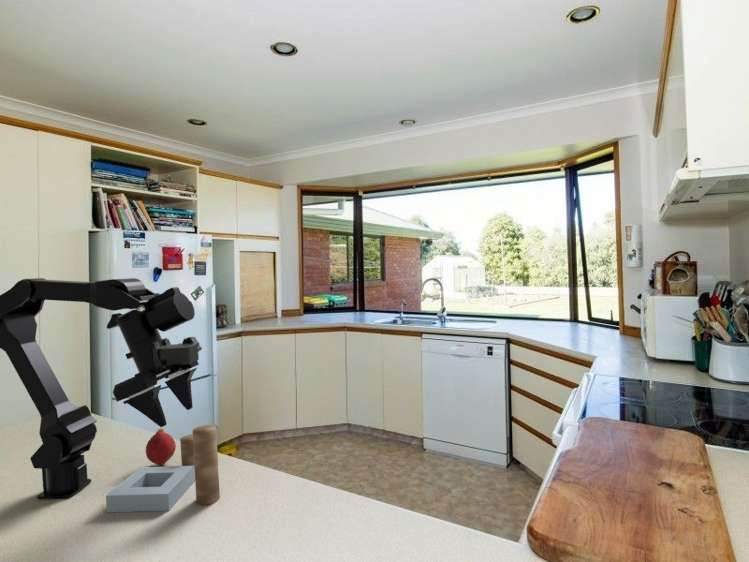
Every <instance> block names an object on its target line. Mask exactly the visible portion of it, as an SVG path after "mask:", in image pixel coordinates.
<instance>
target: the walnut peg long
mask: <svg viewBox="0 0 749 562" xmlns="http://www.w3.org/2000/svg"><path fill="white" fill-rule="evenodd" d="M192 434H193V448H194V467H195V482H194V483H195V484H194V485H195V500H196V501H195V502H196V504H197V505H199V504H200V505H199V506H208V505H207V504H209V505H213V504H214V502H215V503H216V502H218V501H219V500H220V499H221V496H220V495H221V494H220V476H219V475H220V474H219V473H220V472H219V459H218V458H219V457H218V439H217V438H218V437H217V426H216V425H213V424H205V425H200V426H197V427H195V428H193V429H192Z"/></svg>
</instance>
